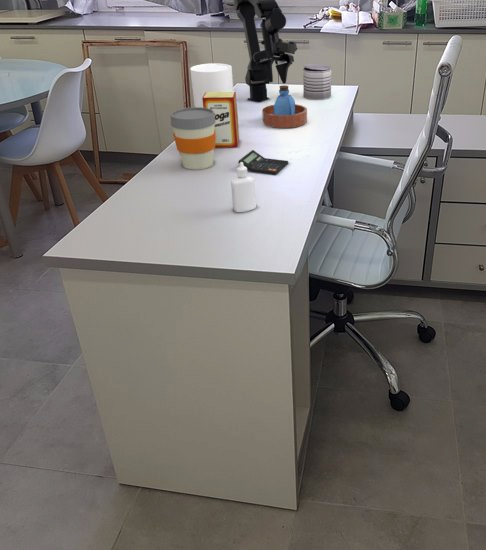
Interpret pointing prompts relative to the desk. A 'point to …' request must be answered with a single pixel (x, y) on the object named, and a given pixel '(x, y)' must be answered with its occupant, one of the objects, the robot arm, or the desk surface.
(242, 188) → the eye dropper bottle
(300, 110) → the bowl
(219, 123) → the baking soda box
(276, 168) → the calculator
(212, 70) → the canister
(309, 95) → the can
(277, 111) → the perfume bottle
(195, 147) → the reusable coffee cup
